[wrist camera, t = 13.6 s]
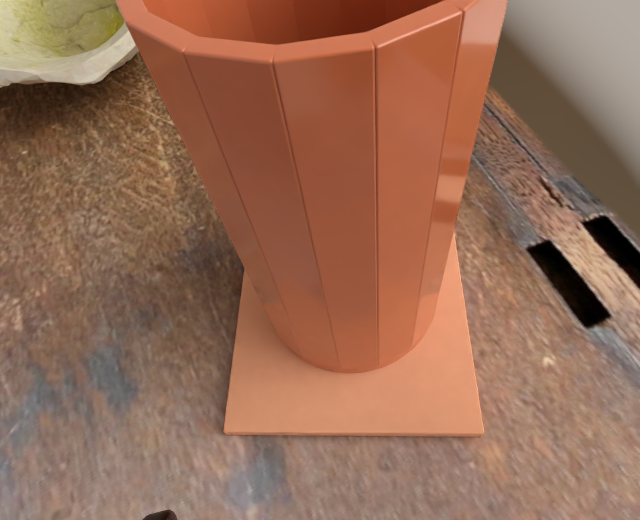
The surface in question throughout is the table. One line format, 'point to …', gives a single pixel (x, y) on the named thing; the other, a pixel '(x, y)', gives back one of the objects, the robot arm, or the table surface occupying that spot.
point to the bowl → (62, 41)
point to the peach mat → (356, 380)
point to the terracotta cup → (329, 151)
